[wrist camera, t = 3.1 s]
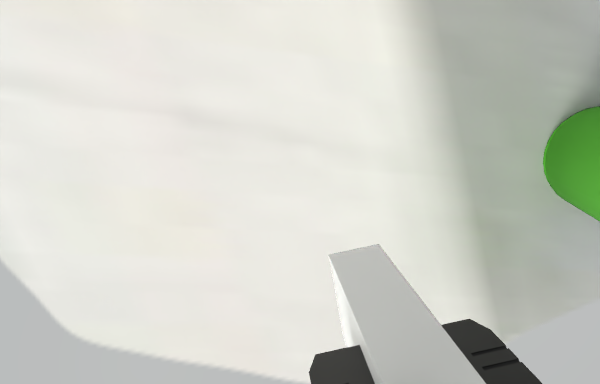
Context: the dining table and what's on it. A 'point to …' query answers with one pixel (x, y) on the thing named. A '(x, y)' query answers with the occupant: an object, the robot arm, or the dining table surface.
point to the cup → (576, 161)
